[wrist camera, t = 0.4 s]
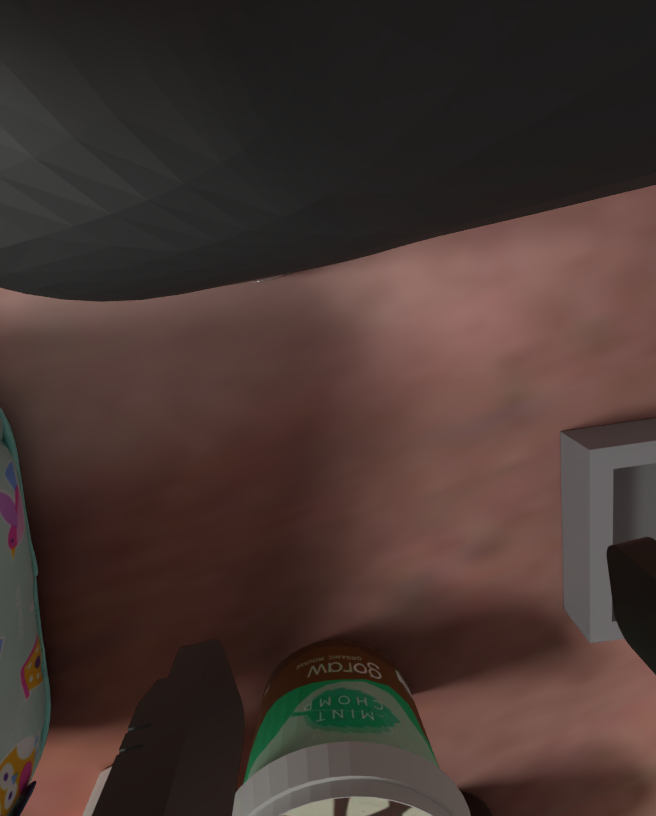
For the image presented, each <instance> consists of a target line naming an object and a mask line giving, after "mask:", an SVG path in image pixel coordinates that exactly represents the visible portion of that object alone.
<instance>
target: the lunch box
mask: <svg viewBox="0 0 656 816" xmlns="http://www.w3.org/2000/svg"><path fill="white" fill-rule="evenodd" d="M37 575H38V567H37V560H36V556H35V553H34V549H33V545H32V541H31V535H30V529H29V523H28V517H27V512H26V506H25V499H24V492H23V485H22V478H21V472H20V466H19V458H18V453H17V448H16V443H15V439H14V436H13V433H12V430H11V427H10V424H9V422H8V420H7V418H6V416H5V414H4V412H3V410H2V409H1V407H0V816H20V814H21V813H22V811H23V809H24V807H25V805H26V804H27V802H28V800H29V798H30V796H31V794H32V792H33V790H34V787H35V785H36V781H34V782H32V783H31V784H30V782H31V780H32V777H33V775H34V773H35V770H36V768H37V765H38V763H39V760H40V758H41V755H42V752H43V749H44V746H45V743H46V739H47V735H48V731H49V723H50V714H51V696H50V685H49V678H48V672H47V665H46V658H45V649H44V643H43V636H42V628H41V620H40V611H39V601H38V591H37V579H36V576H37ZM29 784H30V785H29Z"/></svg>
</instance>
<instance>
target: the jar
mask: <svg viewBox="0 0 656 816" xmlns="http://www.w3.org/2000/svg"><path fill="white" fill-rule="evenodd" d="M111 768H112V766H111V767H109V768H107V769H105V770H104V771H102V772H101V773H100V775H99V777H98V779H97V782H96V784H95V787H94V789H93V791H92V794H91V796H90V799H89V801H88V803H87V806H86V808H85V811H84V813H83V815H82V816H92V813H93V811H94V809H95V806H96V804H97V801H98V799H99V797H100V794H101V792H102V789H103V787H104V785H105V782H106V780H107V777H108V775H109V773H110V770H111Z"/></svg>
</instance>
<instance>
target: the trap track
mask: <svg viewBox="0 0 656 816" xmlns="http://www.w3.org/2000/svg"><path fill="white" fill-rule="evenodd" d="M560 441H561V493H562V546H563V599H564V610H565V611H566V612H567V614H568V615H569V616H570V618H571V619H572V620H573V621H574V623H575V624H576V625H577V627H578V628H579V629H580V631H581V632H582V633H583V635H584V636H585V637H586V639H587V640H588V641H589V643H596V642H603V641H610V640H617V639H624V636H623V635H622V633H621V631H620V629H619V626H618V624H617V621H616V618H615V615H614V609H613V602H612V594H611V587H610V579H609V572H608V564H607V555H606V553H607V548H608V546H610V545H614V544H618V543H622V542H626V541H630V540H635V539H639V538H643V537H651V538H653V539H655V540H656V418H652V419H645V420H638V421H631V422H624V423H617V424H610V425H603V426H596V427H589V428H582V429H575V430H568V431H561V432H560Z"/></svg>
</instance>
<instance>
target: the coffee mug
mask: <svg viewBox="0 0 656 816" xmlns="http://www.w3.org/2000/svg"><path fill="white" fill-rule="evenodd" d="M461 793H462V795H463V796H464V799H465V801H466V803H467V805H468V808H469V810H470V815H471V816H492V814H491V812H490V810H489V808H488V807H487V805H486V804H485V803H484V802H483V801H481V800H480V799H479V798H477V797H475V796H473V795H471V794H468V793H465V792H461Z"/></svg>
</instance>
